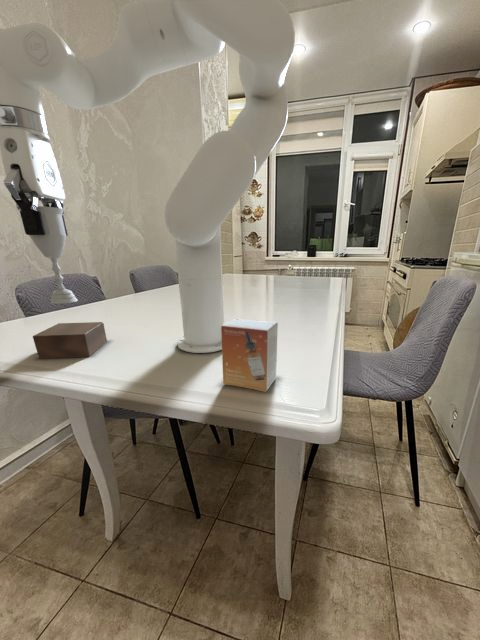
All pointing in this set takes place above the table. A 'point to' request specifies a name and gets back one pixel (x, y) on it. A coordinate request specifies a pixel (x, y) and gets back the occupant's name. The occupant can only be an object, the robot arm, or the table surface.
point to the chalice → (54, 249)
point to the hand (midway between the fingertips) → (48, 234)
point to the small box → (249, 353)
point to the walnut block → (70, 340)
